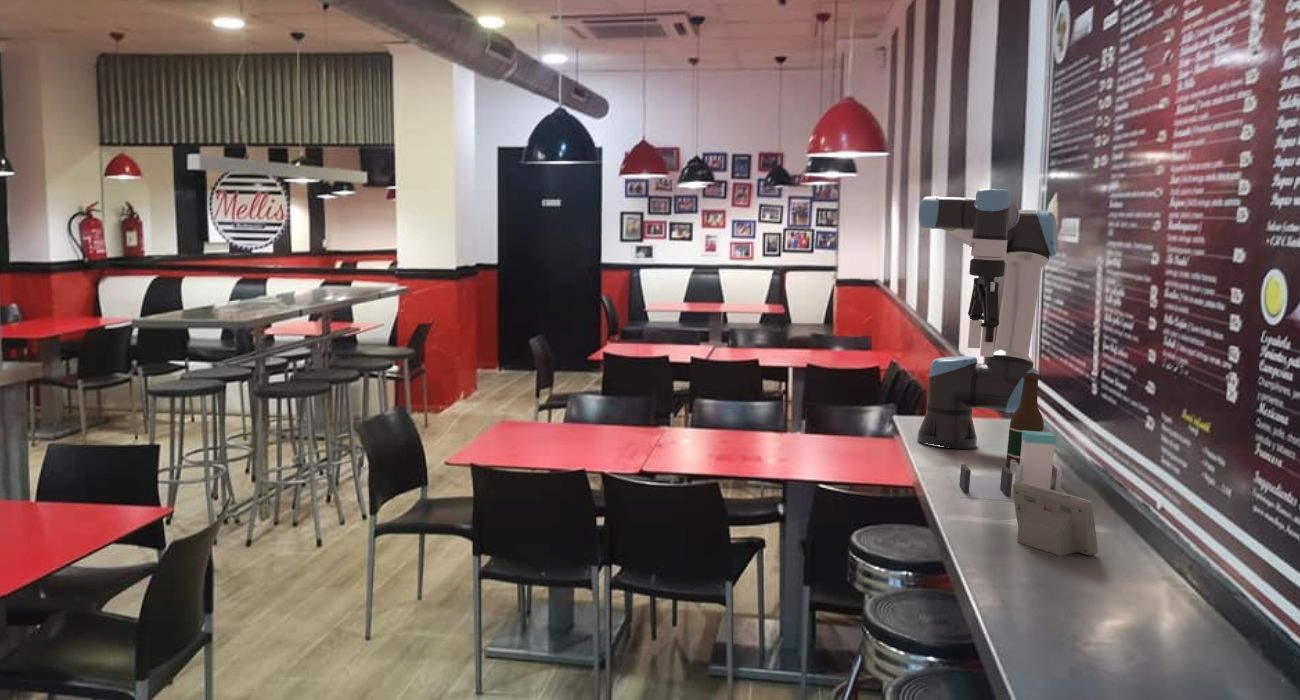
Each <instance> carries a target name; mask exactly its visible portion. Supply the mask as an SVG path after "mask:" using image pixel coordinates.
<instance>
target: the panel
mask: <svg viewBox="0 0 1300 700" xmlns="http://www.w3.org/2000/svg"><path fill="white" fill-rule="evenodd" d="M945 474H946V476H947V478H948V479H949V481H950V483H951V484H952V486H953V487H954V488H955V491H956V492H957V494H958V496H959V497H960V498H965V499H974V500H975V499H976V500H977V499H979V500H990V501H1001V502H1014V496H1013V486H1012V488H1011V497H1006V496H1005V495H1004V494H1003V492H1002V491H1001V490H1000V485H1001V476H999V477H998V476H986V475H975V474H974V475H973V474H970V485H969V494H966V493H963V491H962V490H961V488H960V486H959V485H960V473H948V472H947V473H945ZM1050 490H1053V489H1052V488H1051V487H1050ZM1060 492H1061V493H1065V494H1068V493H1067V492H1066V491H1065V490H1064V489H1063V488H1062V486H1060Z"/></svg>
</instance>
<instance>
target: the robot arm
mask: <svg viewBox="0 0 1300 700" xmlns="http://www.w3.org/2000/svg"><path fill="white" fill-rule="evenodd" d="M1011 197H1012V194H1011V191H1010V189H1002V188H999V189H998V188H996V189H995V188H980V189H977V191H976V194H975V197H950V196H949V197H947V196H938V195H936V196H925V197H923V198H922V199H921V201H920V204H919V209H918V221H919V225H920V226H921V227H922V228H924V229H925V228H926V229H931V230H934V229H936V230H937V229H938V230H943V231H944V232H947V233H950V234H952V235H954V236H956V239H958V240H959V242H961V243H963V244H965V245H967V246H968V247H969V248H971V249H970V252H971V253H970V256H971V257H973V258H971V259H970V260H969V271H968V274H969V275H970V276H974V279H973V286H972V291H971V297H970V302H969V306H968V311H967V315H968V316H969V326H968V327H969V328H968V338H967V339H968V340H967V349H980V350H979V351H980V352H979V354H980V355H979V356H980V357H985V358H986V361H985V363H979V362H978V359H977V357H976V356H969V355H968V356H967V355H966V356H965V355H964V356H963V355H962V356H956V355H955V356H944V357H938V358H935V359H933V360H932V361H931V364H930V368H929V369H930V370H929V375H928V386H927V387H928V388H927V401H926V412H925V416H924V417H923V419H922V422H921V425H920V427H919V429H918V431H917V439H916V440H917V442H919V443H920V442H921V443H920V444H923V443H928V444H934V445H940V446H944V447H949V448H956V449H955V450H968V449H974V448H976V447H977V440H978V437H977V432H976V429H975V425H974V421H973V409H974V408H977V409H984V410H990V411H991V410H992V411H999V412H1000V411H1001V412H1006V413H1008V414H1009V413H1015V411H1016V410H1017V409H1018V408H1019V405H1020V402H1021V396H1022V390H1023V383H1024V378H1023V376H1024V374H1025V373H1035V374H1038V375H1039V376H1040V374H1039V371H1038V369H1036V368H1034V363H1035V362H1034V361H1033V360H1032V358H1031V357H1030V356H1029V354H1030V347H1031V341H1032V336H1033V335H1032V334H1033V328H1034V321H1035V315H1036V307H1037V301H1038V295H1039V286H1040V282H1041V281H1040V279H1041V274H1042V269H1043V268H1044V267H1045V266H1047V265H1048V264H1049V261H1050V257H1054V256H1056V255H1057V252H1058V227H1057V226H1058V225H1057V219H1056V215H1055V214H1054V213H1053V212H1052V211H1048V210H1039V209H1019V207H1018V206H1017V204H1016V203H1015V202H1014V201H1012V200H1011V199H1012V198H1011ZM1004 275H1005V277H1004ZM1003 277H1004V285H1003V289H1002V290H1003V291H1002V296H1001V304H1000V308H999V286H1000V284H999V282H998V281H995V278H1003ZM999 309H1000V310H999Z"/></svg>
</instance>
